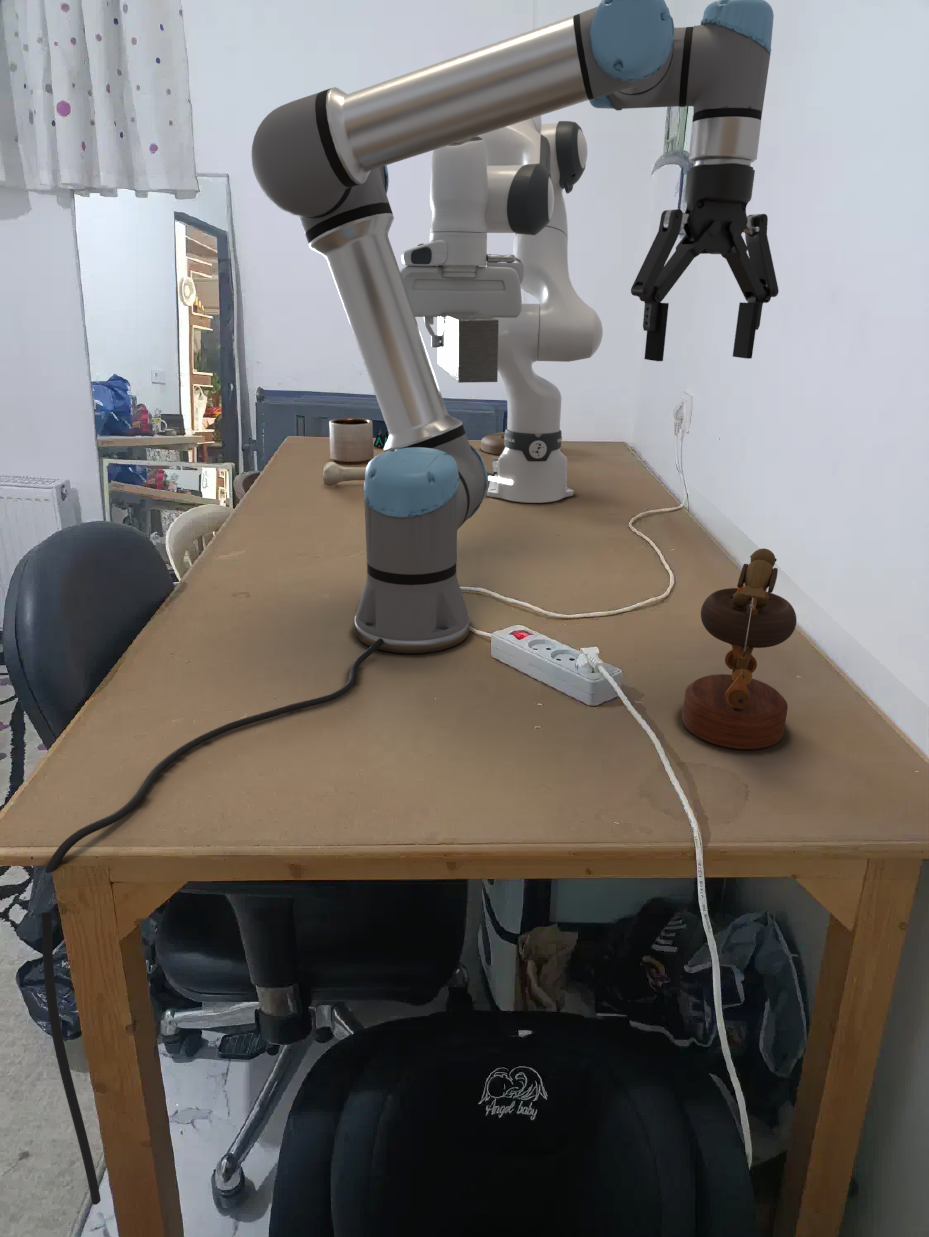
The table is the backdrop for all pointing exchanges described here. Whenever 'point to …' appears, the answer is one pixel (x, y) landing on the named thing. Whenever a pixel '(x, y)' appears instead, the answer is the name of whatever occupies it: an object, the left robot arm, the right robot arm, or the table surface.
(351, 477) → the dog toy
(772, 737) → the music box
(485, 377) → the bar
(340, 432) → the planter
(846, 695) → the table surface
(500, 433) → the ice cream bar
